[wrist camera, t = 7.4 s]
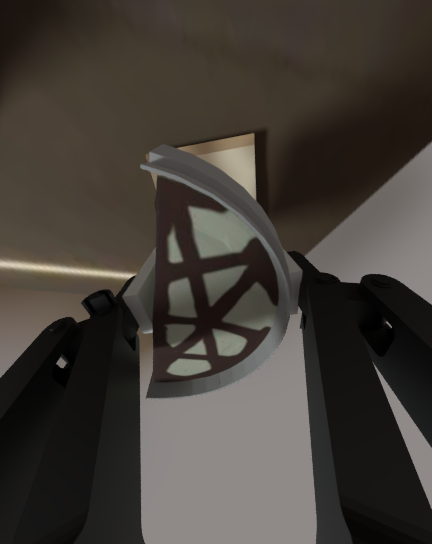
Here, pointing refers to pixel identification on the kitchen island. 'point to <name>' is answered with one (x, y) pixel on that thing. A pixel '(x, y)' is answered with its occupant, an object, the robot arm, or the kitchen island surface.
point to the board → (228, 159)
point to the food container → (211, 279)
